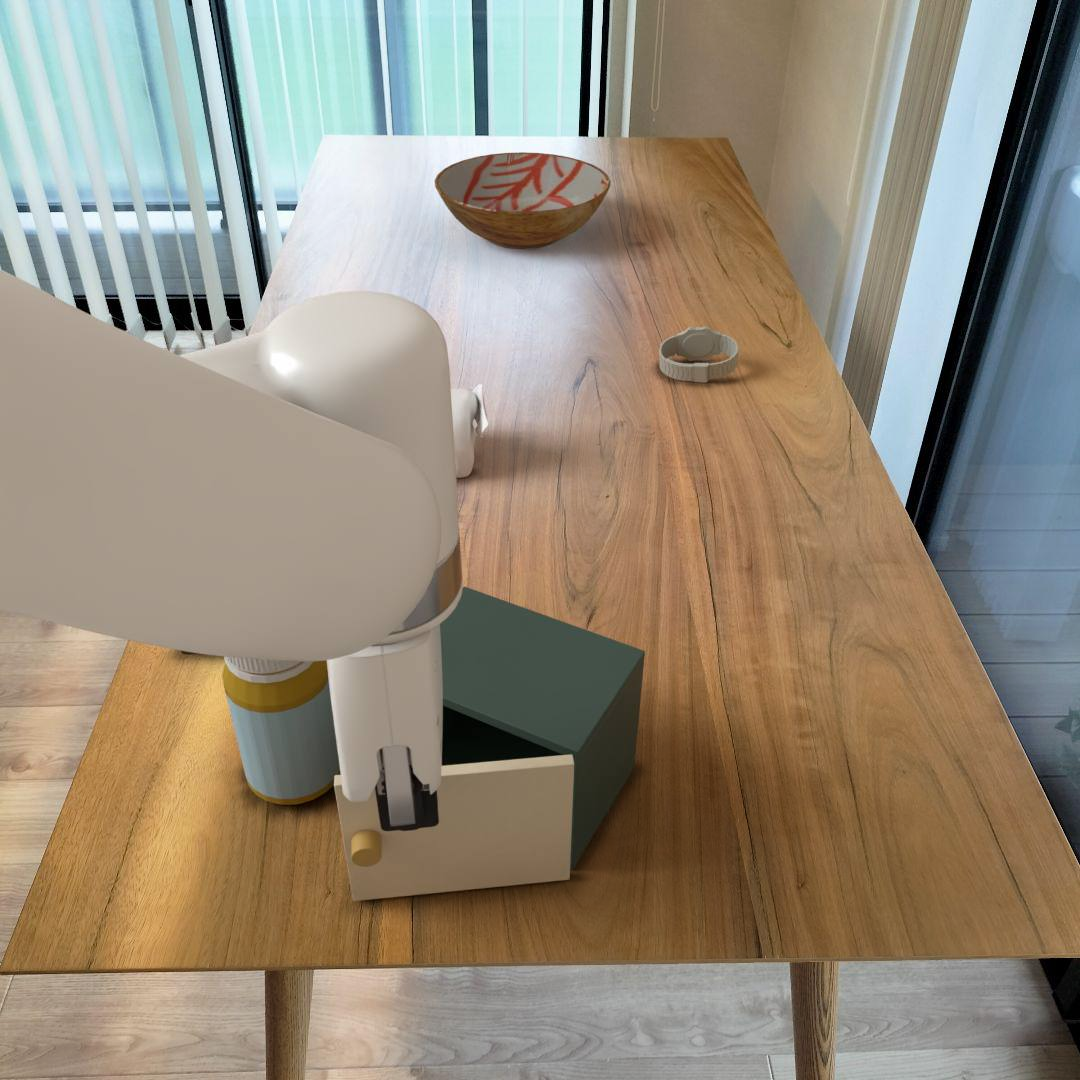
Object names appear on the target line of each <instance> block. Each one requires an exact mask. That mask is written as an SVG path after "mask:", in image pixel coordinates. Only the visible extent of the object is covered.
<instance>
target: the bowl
mask: <svg viewBox="0 0 1080 1080" xmlns="http://www.w3.org/2000/svg"><path fill="white" fill-rule="evenodd" d="M434 187H435V189H436V191H437V193H438V195H439V197H440V198H441V199H442V202H443V204H444V206H445V207H446V208H447V209H448V211H449V212H450V213H451V214H452V215H453V217H454V218H455V219H456V221H458V223H460V224H461V225H462V226H463V227H465V228H466V229H467V230H468V231H469V232H471V233H472V234H475V235H476V236H478V237H480V238H482V239H484V240H486V241H488V242H490V243H491V244H494V245H496V246H499V247H502V248H508V249H517V250H530V249H537V248H542V247H546V246H550V245H552V244H554V243H556V242H558V241H560V240H562V239H564V238H565V237H568V236H569V235H571V234H573V233H575V232H576V231H578V230H579V229H580V228H581V227H582V226H584V224H585V223H587V222H588V221H589V220H590V219H591V218H592V216H593V215H594V214H595V213H596V212H597V210H598V209H599V207H600V206H601V204H602V202H603V201H604V199H605V198H606V196H607V194H608V192H609V190H610V188H611V179H610V176H609V175H608V174H607V173H606V172H605V171H604V170H603V169H601V168H599V167H598V166H597V165H594V164H592V163H590V162H587V161H584V160H580V159H577V158H574V157H570V156H564V155H558V154H552V153H542V152H521V151H520V152H501V153H492V154H485V155H479V156H473V157H471V158H466V159H464V160H460V161H457V162H455V163H452V164H450V165H448V166H446V167H445V168H443V169H442V170H441V171H440V172H438V173H437V175H436V176H435V179H434Z"/></svg>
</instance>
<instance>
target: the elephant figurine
mask: <svg viewBox="0 0 1080 1080" xmlns="http://www.w3.org/2000/svg"><path fill="white" fill-rule="evenodd" d="M451 402H452V418H453V434H454V450H455V466H456V479H460V478H466V477H468V476H470V474H471V473H472V471H473V468H474V465H475V464H474V463H475V450H474V449H475V445H476V436H477V437H478V439H482V438H484V430H485V429H486V428H487V427H488V425H489V419H488V414H487V408H486V403H485V402H486V401H485V398H484V390H483V383H479V384H477V385H476V386H475V387H474V389H473V390H472V389H471V388H467V387H458V388H452V387H451ZM474 421H475V422H476V428H474Z"/></svg>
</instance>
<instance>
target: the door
mask: <svg viewBox="0 0 1080 1080" xmlns="http://www.w3.org/2000/svg"><path fill="white" fill-rule="evenodd" d="M573 783H574V760H573V755H572V754H571V755H559V756H548V757H537V758H525V759H514V760H503V761H491V762H480V763H469V764H457V765H446V766H442V768H441V785H440V786H439V787H438V789H437V798H438V814H439V823H438V825H436V826H434V827H426V828H419V829H417V830H410V831H400V830H397V831H384V830H382V829H381V826H380V819H379V812H378V806H377V799H376V793H375V789H374V791H373V793H372V795H371V797H370V798H369V800H368V801H367V802H350V801H349V800H348V799H347V798H346V797H345V796H344V794H343V790H342V781H341V775H335V776H334V785H333V788H334V794H335V799H336V804H337V805H336V806H337V811H338V817H339V824H340V829H341V835H342V842H343V848H344V854H345V860H346V866H347V867H346V868H347V871H348V879H349V885H350V890H351V891H350V892H351V896H352V901H353V902H359V901H370V900H378V899H389V898H390V899H391V898H399V897H409V896H420V895H429V894H438V893H439V894H441V893H449V892H458V891H468V890H479V889H480V890H481V889H490V888H498V887H509V886H519V885H520V886H521V885H528V884H529V885H530V884H539V883H549V882H550V883H551V882H559V881H569V880H570V878H571V869H570V858H571V833H572V808H573Z"/></svg>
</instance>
